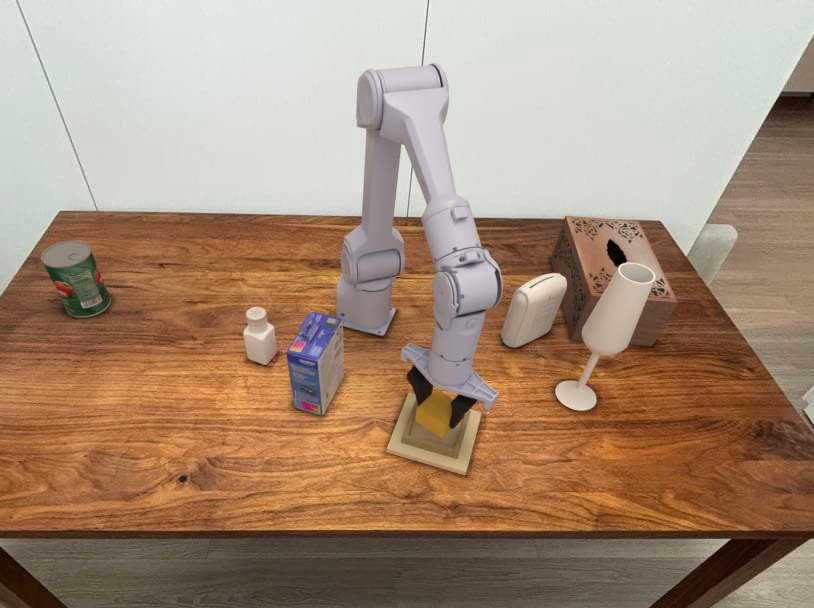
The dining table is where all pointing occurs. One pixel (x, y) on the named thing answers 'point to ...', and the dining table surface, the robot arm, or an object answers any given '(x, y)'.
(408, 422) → the base pad
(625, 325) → the champagne flute
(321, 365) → the ink cartridge box
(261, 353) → the pepper shaker
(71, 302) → the canned tomato
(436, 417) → the mustard block
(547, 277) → the photo printer
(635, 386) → the dining table surface
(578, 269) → the tissue box cover
